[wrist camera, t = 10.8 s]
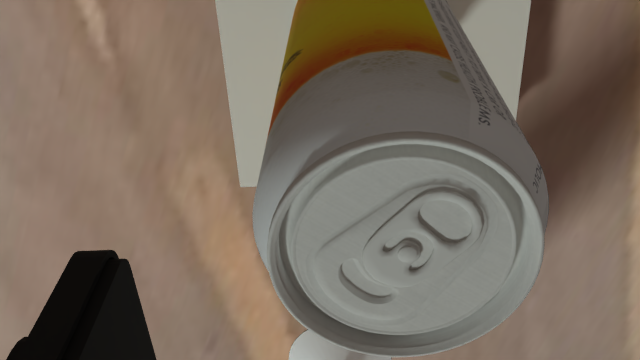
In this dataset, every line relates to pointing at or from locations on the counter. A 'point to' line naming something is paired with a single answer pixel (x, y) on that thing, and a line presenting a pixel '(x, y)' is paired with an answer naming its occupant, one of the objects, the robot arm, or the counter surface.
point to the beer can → (395, 182)
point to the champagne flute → (324, 350)
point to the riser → (270, 46)
